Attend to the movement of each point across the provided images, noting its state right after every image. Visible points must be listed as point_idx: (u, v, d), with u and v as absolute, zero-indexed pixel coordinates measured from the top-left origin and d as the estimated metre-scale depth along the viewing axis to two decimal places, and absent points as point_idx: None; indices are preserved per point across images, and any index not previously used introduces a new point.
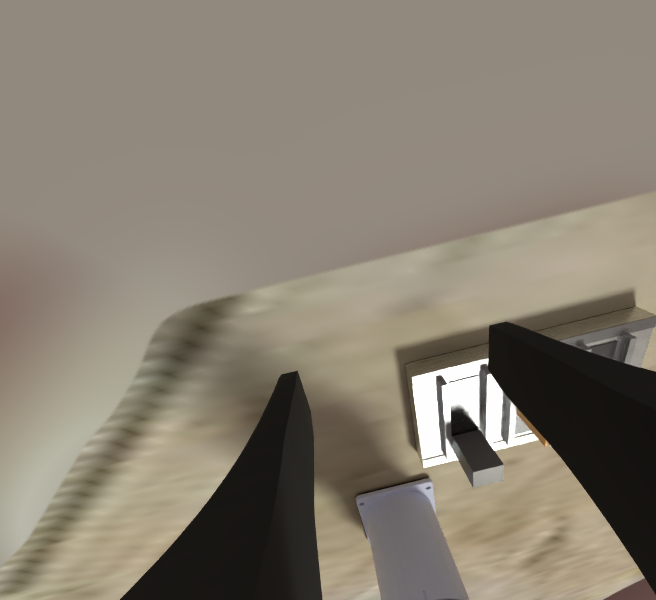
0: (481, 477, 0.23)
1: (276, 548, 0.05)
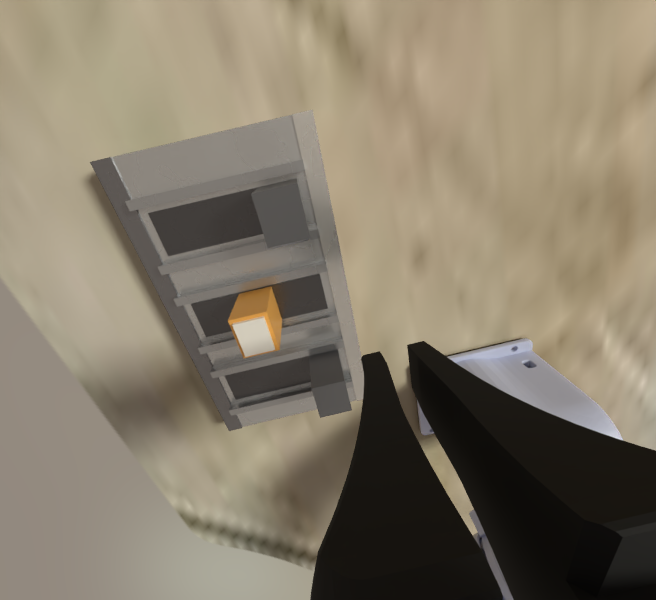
0: (332, 406, 0.18)
1: None
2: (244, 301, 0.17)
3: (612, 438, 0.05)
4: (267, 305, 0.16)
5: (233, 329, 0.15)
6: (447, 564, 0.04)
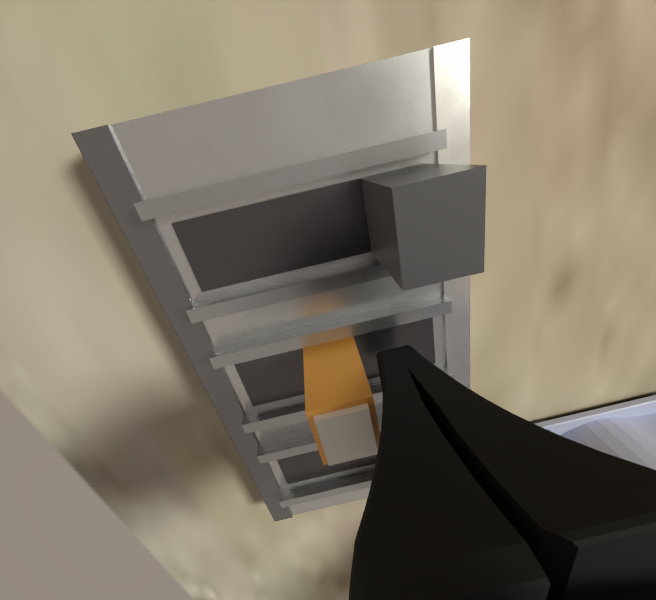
0: None
1: None
2: (319, 365, 0.10)
3: (582, 445, 0.05)
4: (366, 379, 0.09)
5: (314, 425, 0.09)
6: (491, 554, 0.04)
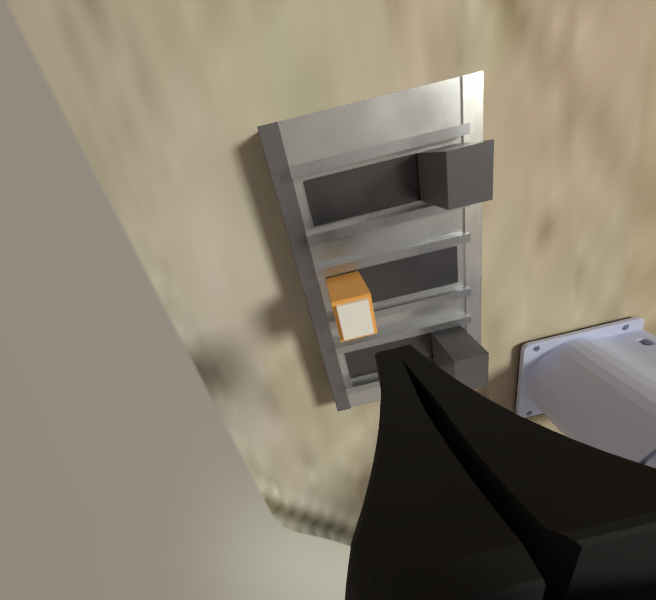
0: (469, 381, 0.18)
1: None
2: (337, 285, 0.16)
3: (584, 444, 0.05)
4: (366, 287, 0.15)
5: (335, 311, 0.15)
6: (486, 555, 0.04)
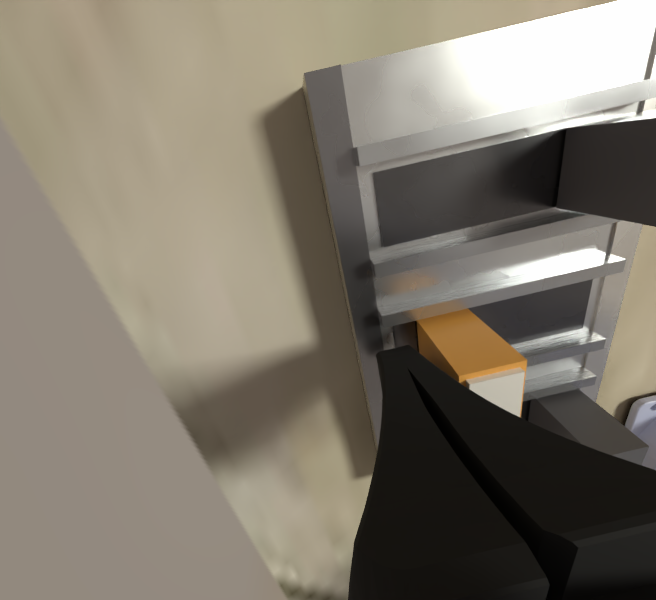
0: None
1: None
2: (446, 335, 0.10)
3: (581, 445, 0.05)
4: (509, 345, 0.09)
5: None
6: (490, 554, 0.04)
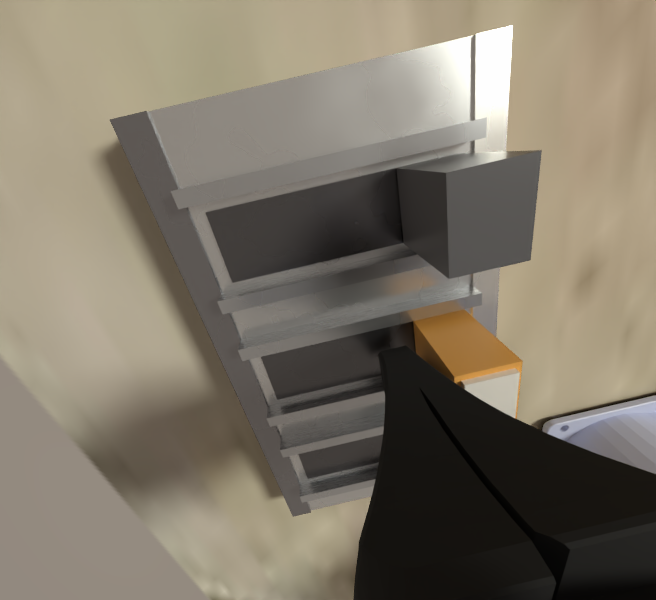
0: None
1: None
2: (442, 336, 0.10)
3: (576, 446, 0.05)
4: (504, 346, 0.09)
5: None
6: (496, 553, 0.04)
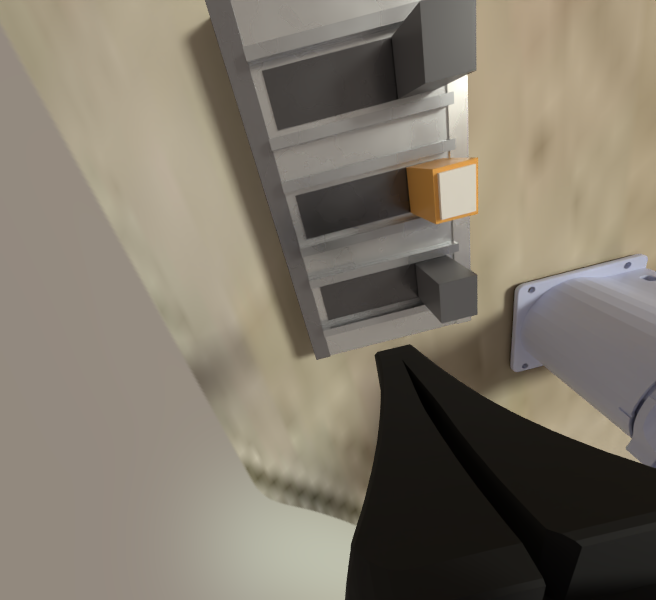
0: (457, 309, 0.16)
1: None
2: (426, 165, 0.14)
3: (584, 444, 0.05)
4: (467, 158, 0.13)
5: (436, 181, 0.13)
6: (487, 555, 0.04)
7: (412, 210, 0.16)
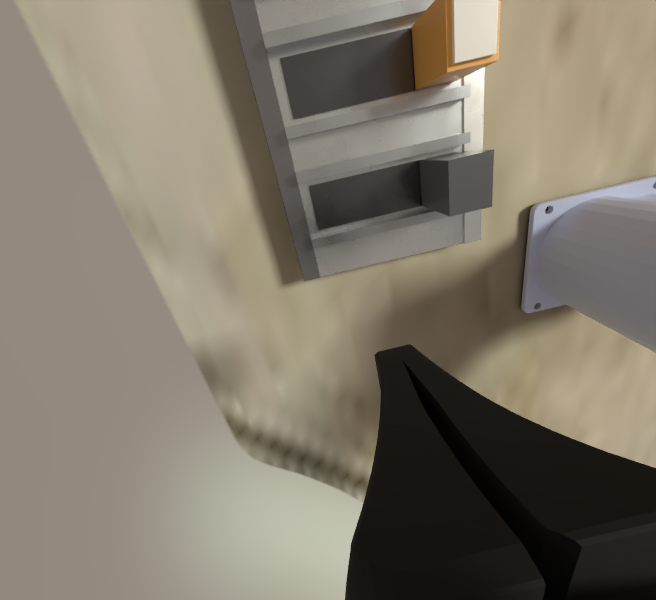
0: (468, 197, 0.13)
1: None
2: None
3: (584, 444, 0.05)
4: None
5: (450, 6, 0.10)
6: (486, 555, 0.04)
7: (418, 83, 0.14)
